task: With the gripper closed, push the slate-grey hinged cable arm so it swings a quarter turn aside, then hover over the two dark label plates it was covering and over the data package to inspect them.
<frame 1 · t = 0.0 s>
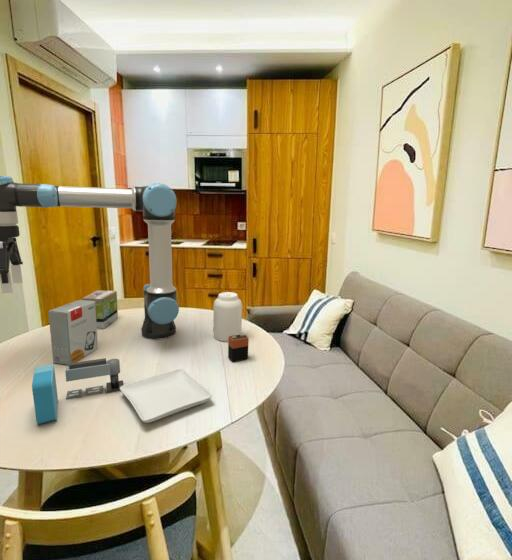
hand: (12, 287, 114), 28 cm above the table, fingers open, 13 cm apart
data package: (48, 412, 93), on the table
battery: (238, 359, 129), on the table
salad plate: (165, 400, 101), on the table
white jar: (227, 337, 150), on the table
label plate 1: (94, 391, 104), on the table
tea box: (101, 323, 161), on the table
label plate 2: (74, 394, 102), on the table
hard drive box: (77, 355, 127), on the table
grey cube: (115, 387, 106), on the table
swing arm: (93, 368, 102), point 8 cm above the table, hinge at 0.0°
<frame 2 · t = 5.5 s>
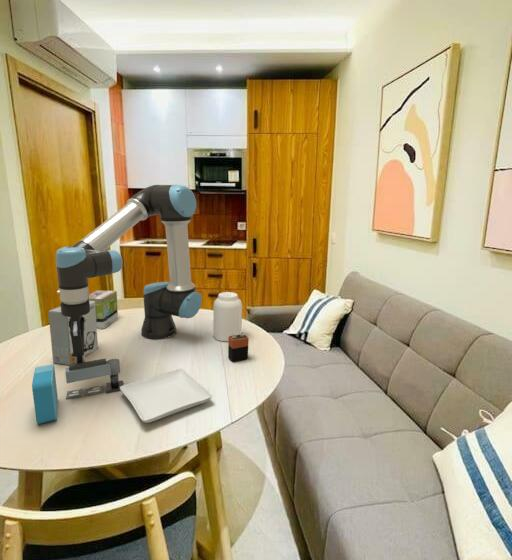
hand: (81, 373, 103), 6 cm above the table, fingers closed
swing arm: (93, 369, 102), point 8 cm above the table, hinge at 5.1°, touching gripper
everything else where it was.
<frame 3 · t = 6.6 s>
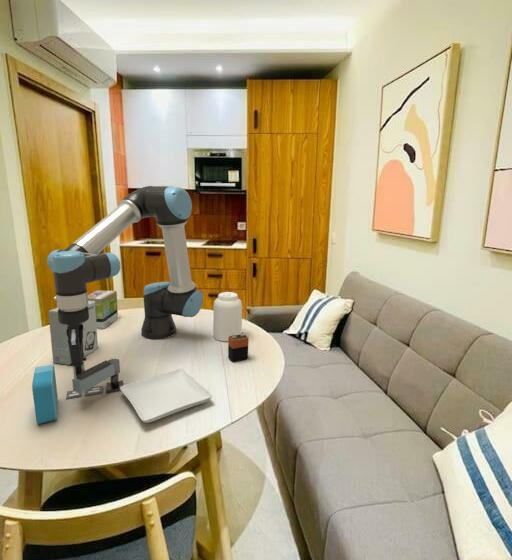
hand: (80, 383, 98), 5 cm above the table, fingers closed
swing arm: (98, 373, 100), point 8 cm above the table, hinge at 42.1°, touching gripper
everything else where it was.
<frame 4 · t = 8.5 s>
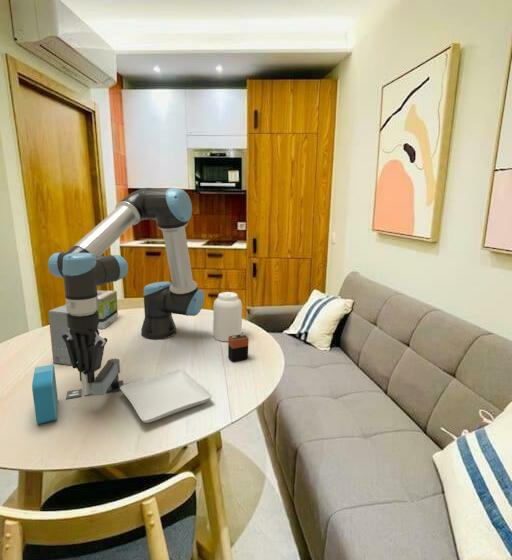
hand: (88, 392, 93), 6 cm above the table, fingers closed
swing arm: (107, 374, 99), point 8 cm above the table, hinge at 71.3°, touching gripper
everything else where it was.
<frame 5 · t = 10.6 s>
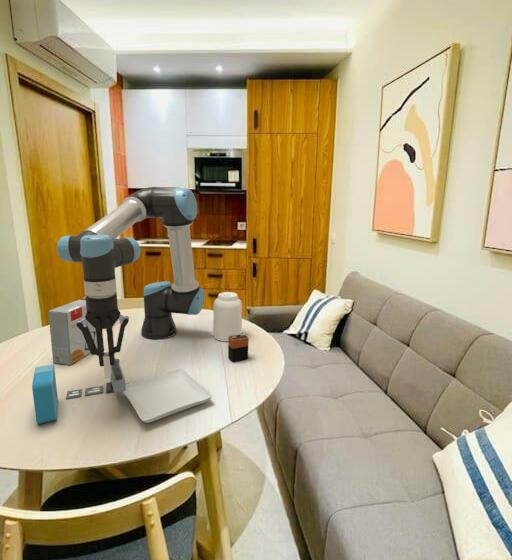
hand: (108, 375, 93), 11 cm above the table, fingers closed
swing arm: (115, 373, 100), point 8 cm above the table, hinge at 96.5°
everything else where it was.
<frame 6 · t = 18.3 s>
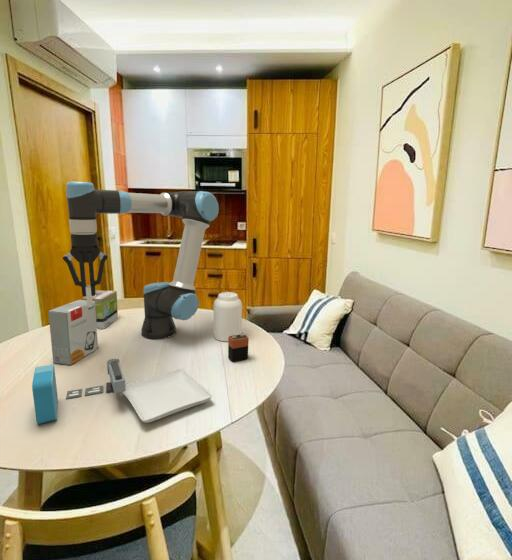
hand: (89, 305, 109), 24 cm above the table, fingers closed
nothing on the table moved.
at the end: swing arm at +96° (first picture: +0°); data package moved 0.3 cm from its start; swing arm touching nothing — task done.
